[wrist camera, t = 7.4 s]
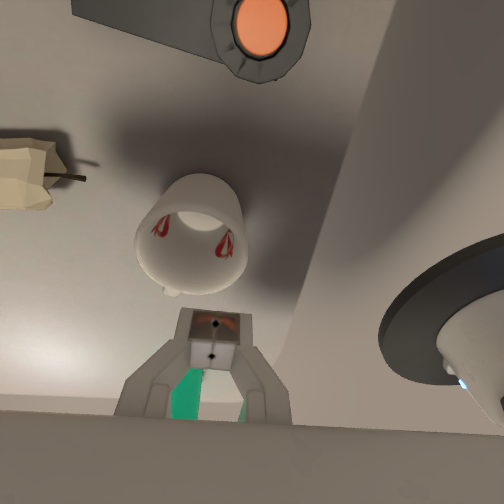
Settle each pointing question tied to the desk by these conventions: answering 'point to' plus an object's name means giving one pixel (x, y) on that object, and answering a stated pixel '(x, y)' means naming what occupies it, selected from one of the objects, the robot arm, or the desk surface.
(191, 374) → the candle
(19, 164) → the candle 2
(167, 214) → the cup
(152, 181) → the desk surface
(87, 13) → the scale
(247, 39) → the button
